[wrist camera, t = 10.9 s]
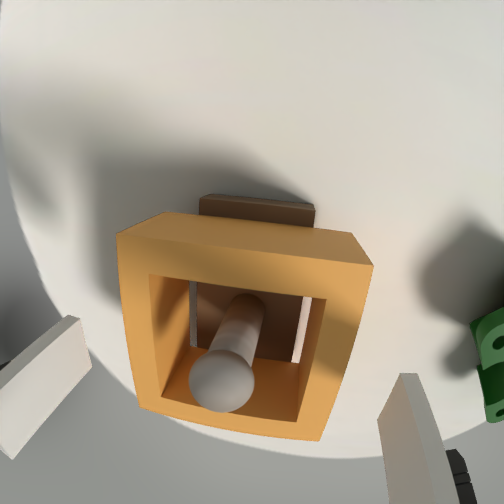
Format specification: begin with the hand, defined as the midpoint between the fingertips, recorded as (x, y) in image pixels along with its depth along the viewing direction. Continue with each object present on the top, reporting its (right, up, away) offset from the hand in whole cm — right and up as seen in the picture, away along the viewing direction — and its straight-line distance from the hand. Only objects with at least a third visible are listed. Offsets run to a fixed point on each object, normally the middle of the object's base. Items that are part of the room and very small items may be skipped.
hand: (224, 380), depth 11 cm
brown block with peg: (+1, +1, +9) cm, 9 cm away
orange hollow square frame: (+1, +2, +6) cm, 7 cm away
